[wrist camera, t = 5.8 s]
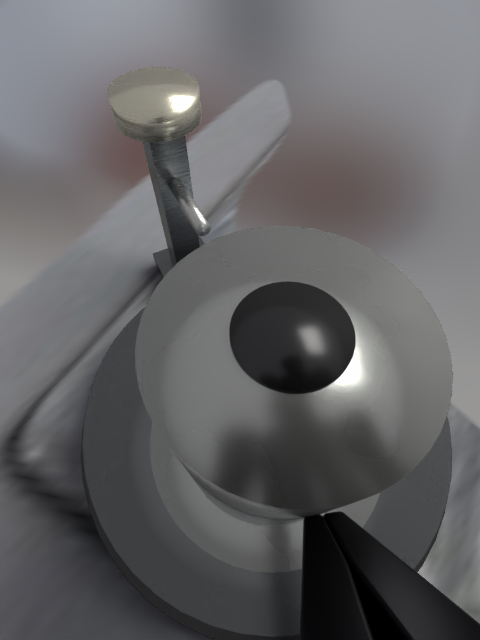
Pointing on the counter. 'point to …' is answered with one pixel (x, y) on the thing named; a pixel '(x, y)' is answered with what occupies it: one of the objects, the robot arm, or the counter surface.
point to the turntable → (188, 558)
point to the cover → (285, 388)
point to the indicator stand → (164, 149)
